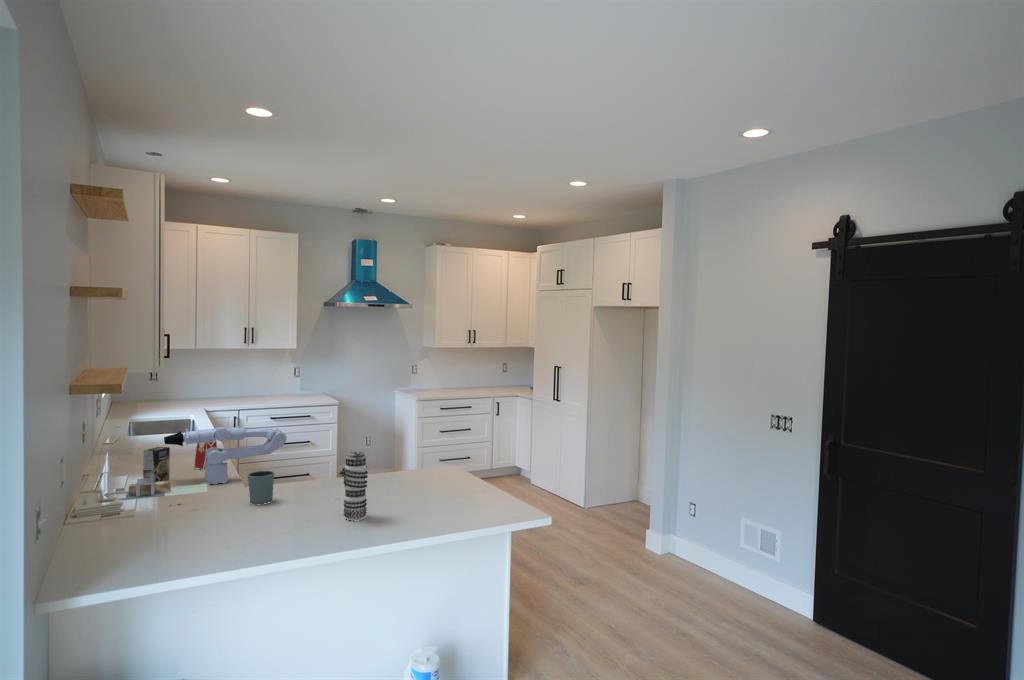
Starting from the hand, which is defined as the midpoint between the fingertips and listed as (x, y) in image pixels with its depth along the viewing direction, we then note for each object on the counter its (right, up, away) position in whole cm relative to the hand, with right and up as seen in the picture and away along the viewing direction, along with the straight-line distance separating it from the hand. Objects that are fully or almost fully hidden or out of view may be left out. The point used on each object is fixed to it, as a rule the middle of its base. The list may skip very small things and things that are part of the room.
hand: (164, 440), depth 270 cm
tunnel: (0, -20, -14) cm, 24 cm away
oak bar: (+2, -20, -13) cm, 24 cm away
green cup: (+50, -23, -18) cm, 58 cm away
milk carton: (0, -20, +38) cm, 43 cm away
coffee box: (-8, -21, +7) cm, 23 cm away
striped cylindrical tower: (+93, -24, -36) cm, 103 cm away
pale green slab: (+4, -21, -12) cm, 25 cm away
